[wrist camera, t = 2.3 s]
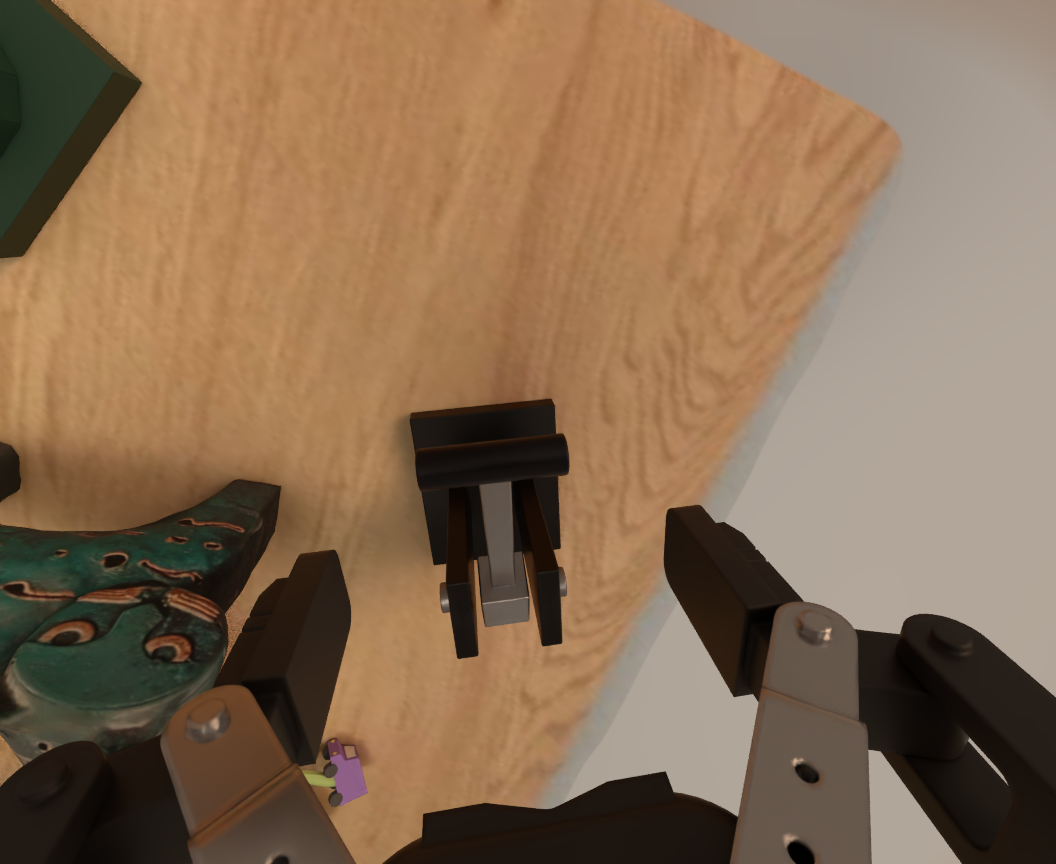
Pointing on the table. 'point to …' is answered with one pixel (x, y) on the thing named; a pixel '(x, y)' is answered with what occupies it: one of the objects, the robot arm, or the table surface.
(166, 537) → the ceramic cat
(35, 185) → the button block
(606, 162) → the table surface
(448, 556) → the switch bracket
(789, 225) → the table surface
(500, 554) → the lever
